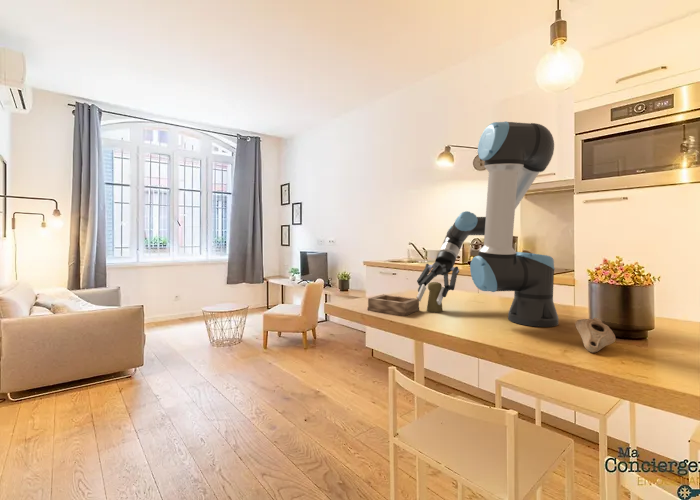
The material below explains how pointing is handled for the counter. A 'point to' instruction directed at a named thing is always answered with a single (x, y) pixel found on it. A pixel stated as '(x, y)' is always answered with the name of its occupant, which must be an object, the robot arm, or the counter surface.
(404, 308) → the brown tray
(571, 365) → the counter surface
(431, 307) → the cork
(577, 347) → the counter surface
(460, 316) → the counter surface
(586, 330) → the pottery oil lamp
